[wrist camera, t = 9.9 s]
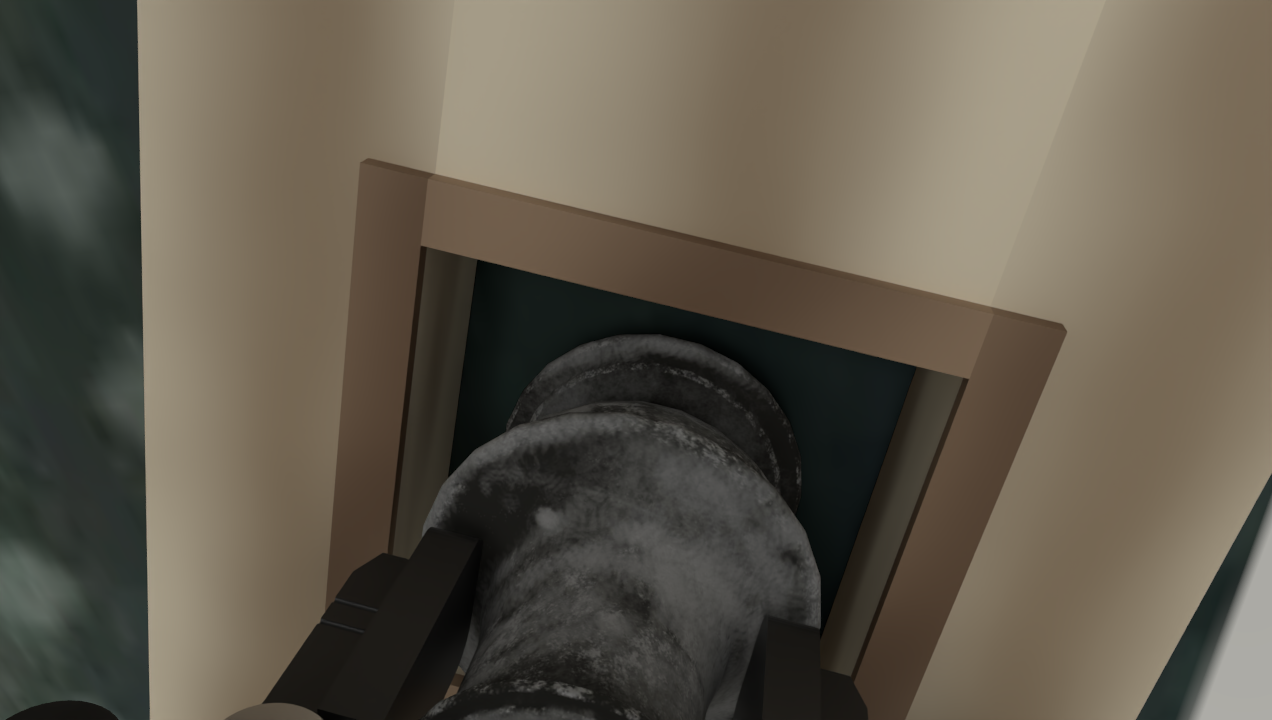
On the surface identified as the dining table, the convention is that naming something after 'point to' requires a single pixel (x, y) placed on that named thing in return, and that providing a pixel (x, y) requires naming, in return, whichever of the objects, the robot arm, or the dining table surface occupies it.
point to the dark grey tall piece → (628, 538)
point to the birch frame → (722, 297)
